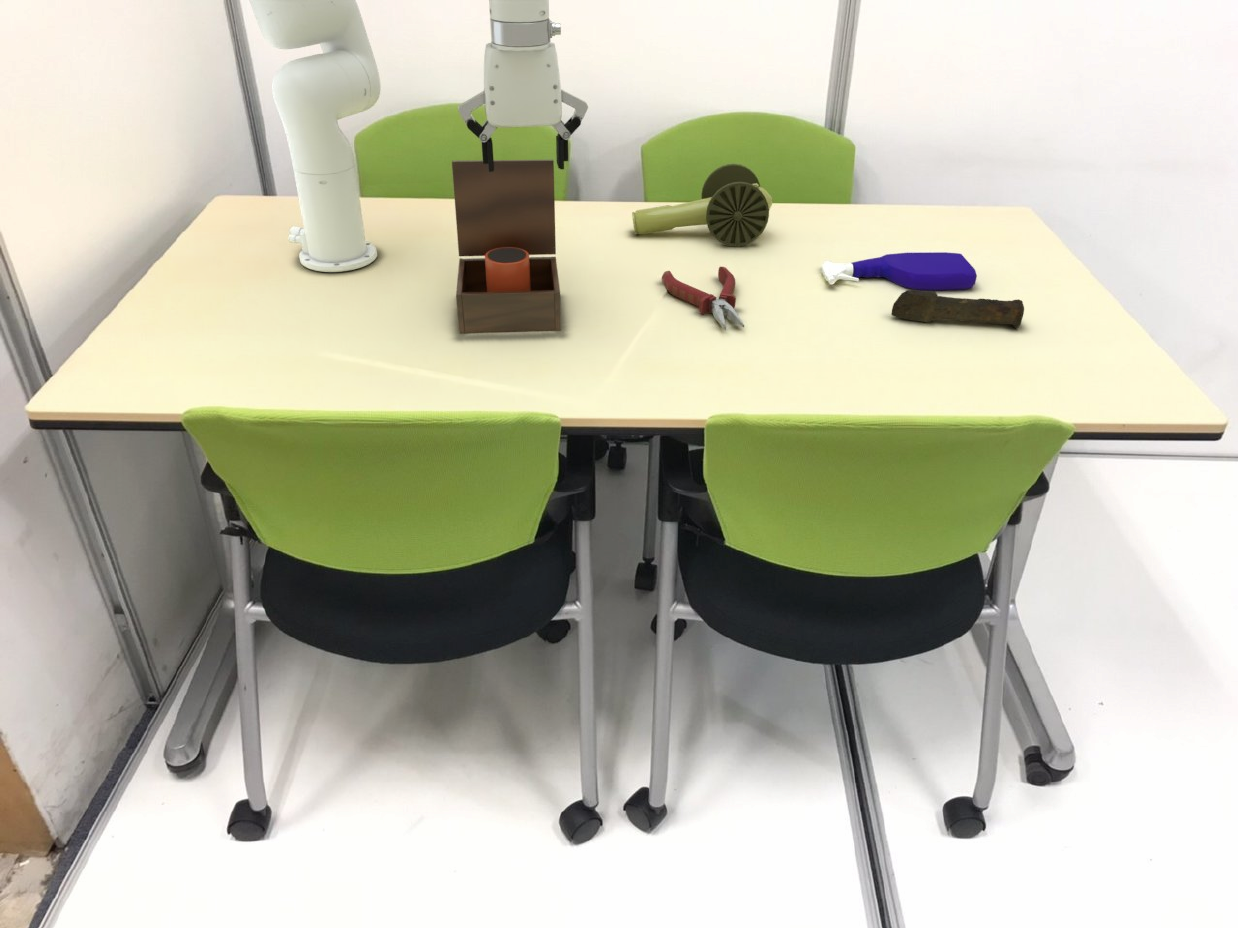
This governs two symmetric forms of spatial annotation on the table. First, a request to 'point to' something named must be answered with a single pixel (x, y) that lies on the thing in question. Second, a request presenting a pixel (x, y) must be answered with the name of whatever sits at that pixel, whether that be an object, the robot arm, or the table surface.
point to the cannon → (716, 208)
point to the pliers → (708, 296)
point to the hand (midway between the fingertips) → (525, 167)
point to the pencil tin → (507, 270)
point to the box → (508, 300)
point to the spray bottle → (909, 270)
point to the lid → (504, 206)
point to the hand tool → (956, 308)
